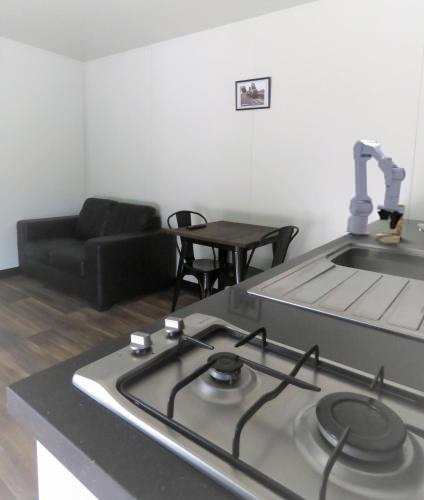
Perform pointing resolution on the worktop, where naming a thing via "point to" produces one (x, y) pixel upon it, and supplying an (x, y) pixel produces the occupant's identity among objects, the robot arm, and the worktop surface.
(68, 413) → the worktop surface
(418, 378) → the worktop surface
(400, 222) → the candy box
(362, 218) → the robot arm
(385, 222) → the sage cube
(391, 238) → the beech block
